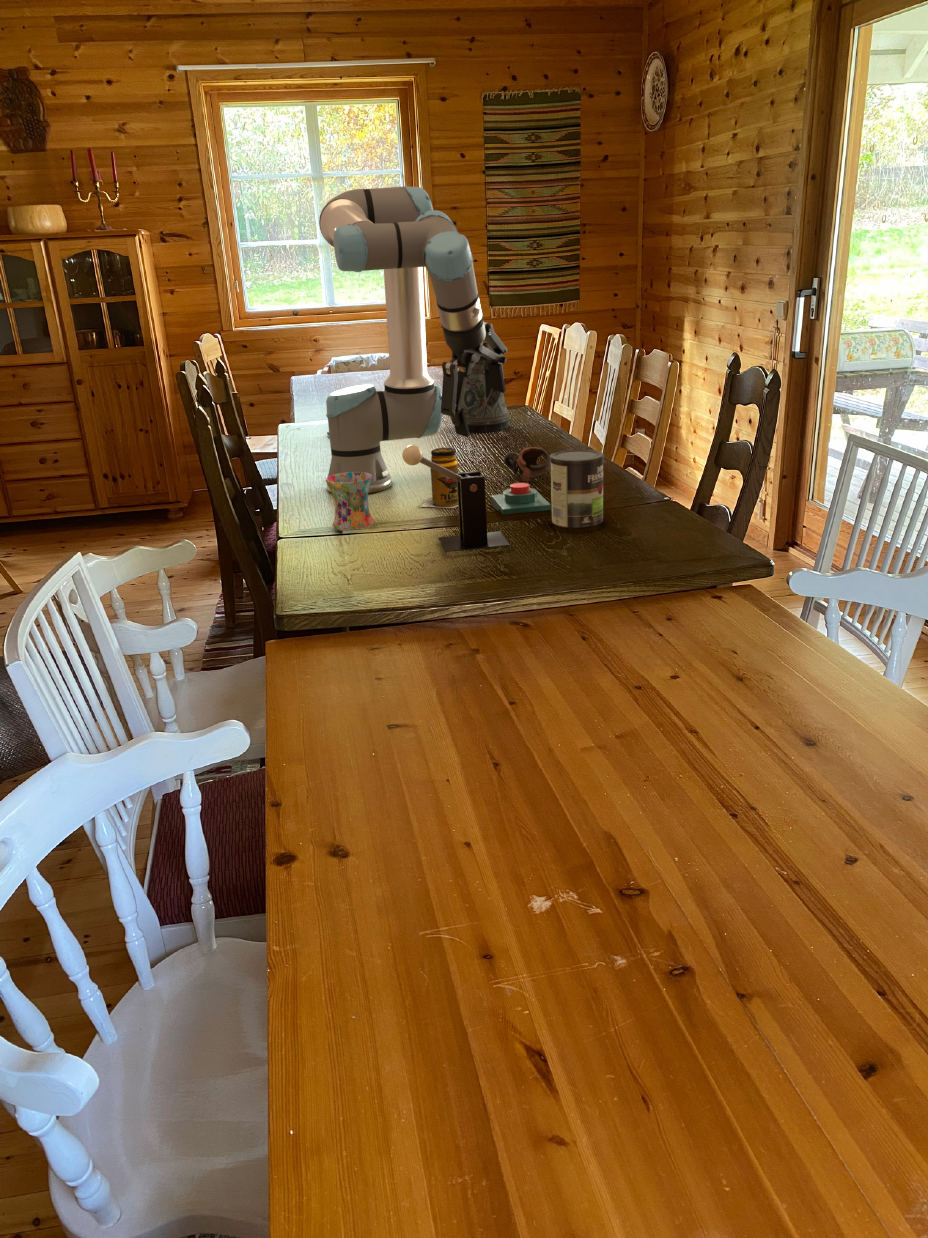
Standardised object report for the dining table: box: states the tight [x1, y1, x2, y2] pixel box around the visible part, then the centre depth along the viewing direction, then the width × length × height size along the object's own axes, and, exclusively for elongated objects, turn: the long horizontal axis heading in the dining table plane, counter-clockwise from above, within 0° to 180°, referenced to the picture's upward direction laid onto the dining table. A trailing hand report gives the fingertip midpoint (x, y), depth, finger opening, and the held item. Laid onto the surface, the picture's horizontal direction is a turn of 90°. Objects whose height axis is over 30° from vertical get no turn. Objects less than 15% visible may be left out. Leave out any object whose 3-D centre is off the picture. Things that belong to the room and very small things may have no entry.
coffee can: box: [549, 448, 605, 529], centre depth 178 cm, size 10×10×14 cm
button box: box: [491, 487, 552, 516], centre depth 192 cm, size 12×10×4 cm
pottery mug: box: [503, 446, 551, 483], centre depth 218 cm, size 12×10×8 cm
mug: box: [324, 472, 375, 532], centre depth 186 cm, size 12×9×11 cm
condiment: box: [419, 447, 459, 509], centre depth 199 cm, size 7×8×12 cm
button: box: [509, 482, 531, 494], centre depth 192 cm, size 4×4×2 cm
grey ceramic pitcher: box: [461, 342, 511, 434], centre depth 276 cm, size 16×19×25 cm
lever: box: [401, 444, 471, 482], centre depth 165 cm, size 15×4×4 cm
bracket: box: [438, 470, 511, 553], centre depth 169 cm, size 12×9×14 cm
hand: (481, 412), depth 180 cm, fingers open, 13 cm apart
